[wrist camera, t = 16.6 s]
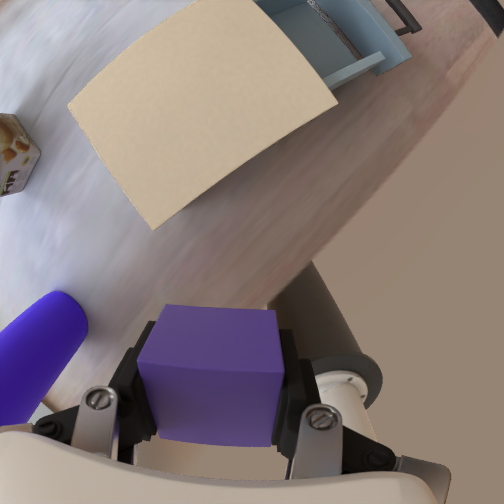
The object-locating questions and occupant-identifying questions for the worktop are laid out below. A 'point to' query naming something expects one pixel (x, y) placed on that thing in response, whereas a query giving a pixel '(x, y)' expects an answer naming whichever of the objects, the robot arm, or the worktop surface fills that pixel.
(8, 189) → the coffee box
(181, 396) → the purple cube
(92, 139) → the cabinet
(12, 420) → the bottle
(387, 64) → the drawer
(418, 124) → the worktop surface
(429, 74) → the worktop surface
